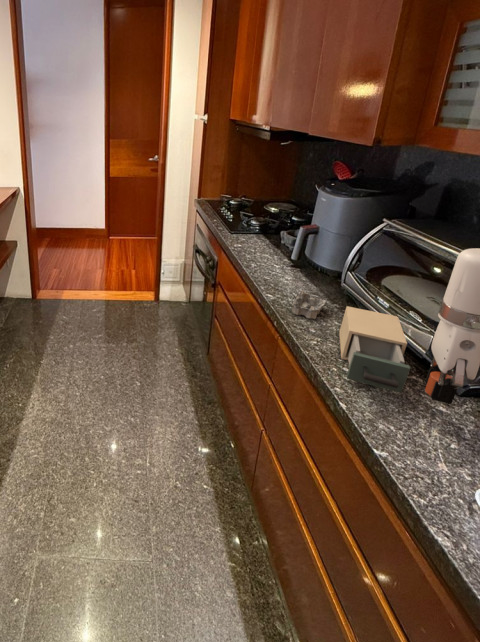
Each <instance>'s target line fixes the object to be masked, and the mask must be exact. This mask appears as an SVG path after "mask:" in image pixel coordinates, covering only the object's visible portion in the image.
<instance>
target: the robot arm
mask: <svg viewBox="0 0 480 642" xmlns="http://www.w3.org/2000/svg"><path fill="white" fill-rule="evenodd" d="M445 289H446V290H445V293H444V295H443V299H442V301H441V305H440V307H439V310H438V314H437V317H438V318H439V319H440V320H439V323H438V325H437V327H436V330H435V332H434V336H433V338H432V342H431V346H430V347H431V352H432V355H433V359H432V361H431V363H430V366H429V369H428V372H427V375H426V378H425V385H426V384H427V382H428V379H429V376H430V373H431V372H435V371H436V372H441V374H440V377H439V381H438V382H435V385H434V388H433V391H432V394H431V396H430V399H431V400H433V401H437V402H439V403H445V404H449V405H451V404H453V401H454V399H455V396H456V394H457V391H458V390H459V388H463V387H464V382H465V381H464V380H465V377H466V378H467V379H468V380H470V381H473V380H475V379H476V377H477V374H478V372H479V370H480V369H479V368H480V248H479V247H478V248H476V247H475V248H466V249H464V250H462V251H461V252H459V254H458V255H457V257H456V260H455V263H454V266H453V268H452V272H451V275H450V278H449V280H448V284H447V287H446V288H445ZM446 375H450V376H452V379H450V378H447V379H445V378H446Z"/></svg>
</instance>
